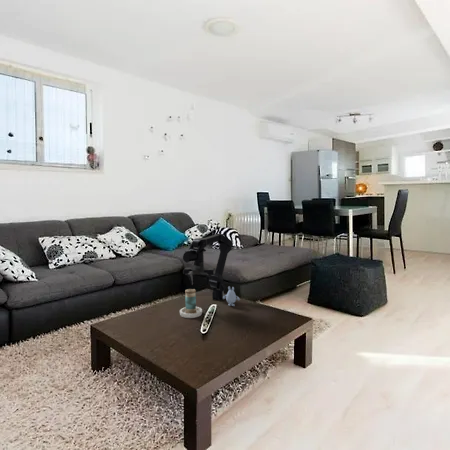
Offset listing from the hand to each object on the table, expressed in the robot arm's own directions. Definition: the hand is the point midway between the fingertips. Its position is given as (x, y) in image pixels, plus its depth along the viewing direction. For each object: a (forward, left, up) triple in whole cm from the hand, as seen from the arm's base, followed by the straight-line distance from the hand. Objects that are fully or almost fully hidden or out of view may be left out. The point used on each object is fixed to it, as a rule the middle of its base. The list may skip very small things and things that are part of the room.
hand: (199, 284), depth 210 cm
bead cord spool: (+2, +14, -12) cm, 19 cm away
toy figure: (-19, -2, -13) cm, 23 cm away
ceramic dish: (+2, +14, -13) cm, 19 cm away
